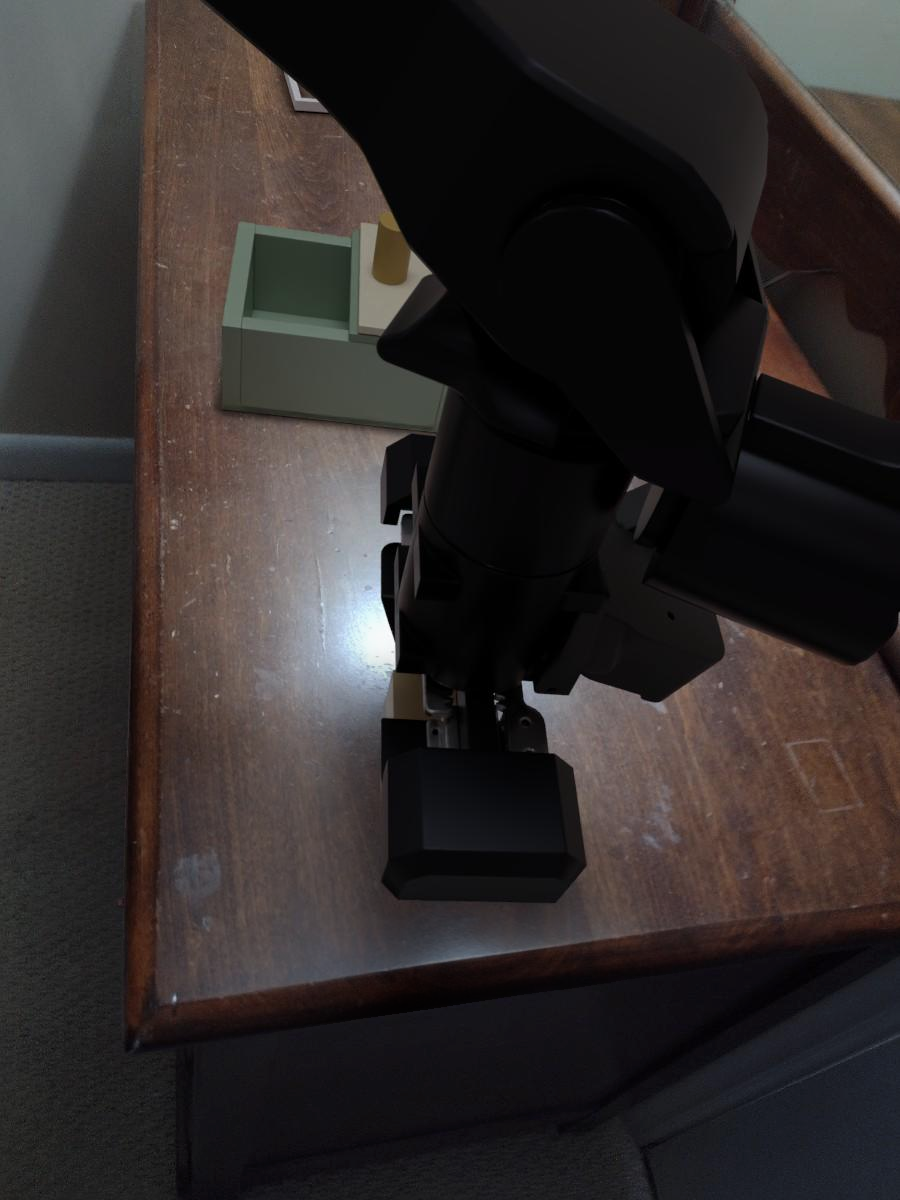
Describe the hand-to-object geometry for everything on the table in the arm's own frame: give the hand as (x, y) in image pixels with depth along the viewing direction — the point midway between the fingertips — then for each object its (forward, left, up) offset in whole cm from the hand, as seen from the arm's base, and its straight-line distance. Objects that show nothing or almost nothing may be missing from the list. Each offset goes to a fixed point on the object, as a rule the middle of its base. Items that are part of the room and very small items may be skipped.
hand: (428, 747), depth 40 cm
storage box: (-4, +36, -9) cm, 38 cm away
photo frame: (-2, +83, -9) cm, 84 cm away
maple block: (0, 0, -1) cm, 1 cm away
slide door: (+1, +36, -1) cm, 36 cm away
